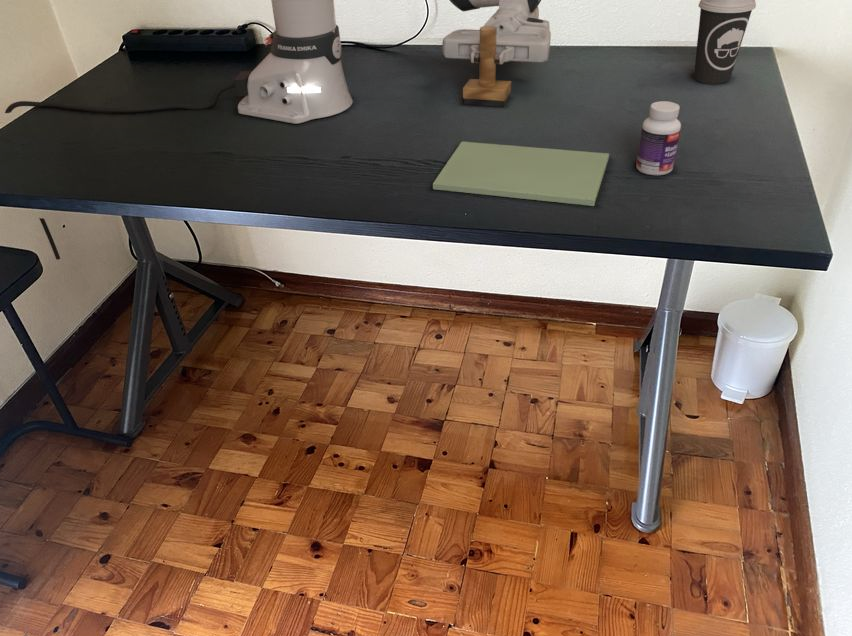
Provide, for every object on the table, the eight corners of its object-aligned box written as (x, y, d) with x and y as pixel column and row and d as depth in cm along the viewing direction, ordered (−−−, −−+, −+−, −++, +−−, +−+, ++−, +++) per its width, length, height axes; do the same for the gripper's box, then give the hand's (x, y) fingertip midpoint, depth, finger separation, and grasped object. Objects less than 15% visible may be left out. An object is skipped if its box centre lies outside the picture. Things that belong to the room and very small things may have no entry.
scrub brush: (462, 104, 137) (462, 31, 129) (469, 95, 141) (470, 23, 133) (504, 107, 135) (507, 32, 127) (510, 97, 138) (513, 24, 130)
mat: (432, 189, 111) (432, 183, 110) (461, 146, 122) (461, 141, 122) (594, 206, 104) (594, 200, 103) (608, 159, 115) (609, 153, 114)
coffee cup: (743, 73, 140) (763, -12, 131) (732, 89, 134) (752, 1, 125) (692, 67, 144) (708, -16, 135) (678, 83, 138) (694, -3, 129)
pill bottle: (667, 179, 108) (678, 115, 102) (631, 172, 111) (640, 109, 105) (677, 164, 112) (689, 102, 106) (641, 158, 114) (651, 97, 108)
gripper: (452, 18, 143) (431, 39, 133) (557, 21, 137) (543, 43, 127) (453, 51, 147) (432, 74, 137) (555, 55, 141) (541, 79, 131)
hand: (486, 59), depth 132 cm, fingers closed on scrub brush, 3 cm apart
